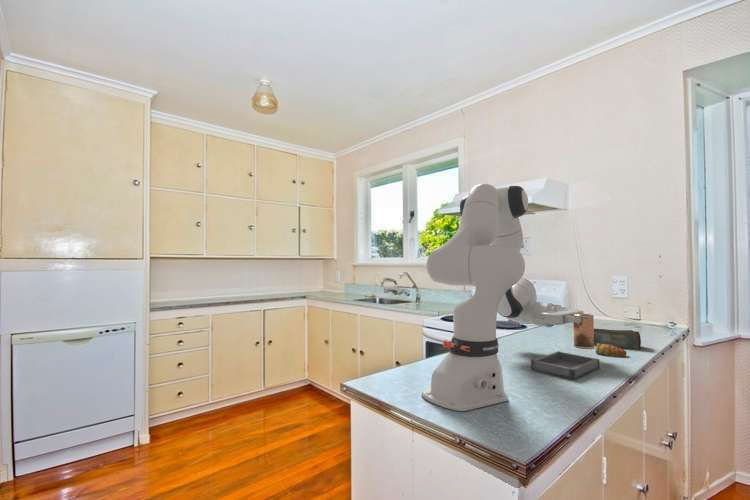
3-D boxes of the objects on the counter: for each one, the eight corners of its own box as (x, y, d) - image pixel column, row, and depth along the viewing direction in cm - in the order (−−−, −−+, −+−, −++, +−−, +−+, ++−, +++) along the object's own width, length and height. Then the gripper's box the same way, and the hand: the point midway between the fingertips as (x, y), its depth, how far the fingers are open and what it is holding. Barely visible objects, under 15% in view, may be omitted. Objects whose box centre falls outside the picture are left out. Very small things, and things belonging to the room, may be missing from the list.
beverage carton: (585, 340, 156) (585, 325, 156) (640, 346, 144) (640, 330, 145) (583, 344, 149) (583, 328, 149) (641, 350, 138) (640, 333, 138)
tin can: (589, 350, 118) (589, 316, 119) (570, 346, 123) (569, 314, 124) (597, 347, 122) (596, 315, 123) (578, 344, 127) (577, 313, 127)
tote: (573, 380, 104) (573, 369, 104) (531, 369, 114) (530, 360, 114) (599, 368, 115) (599, 359, 115) (558, 360, 125) (558, 351, 125)
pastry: (627, 355, 132) (627, 344, 132) (625, 359, 126) (625, 348, 126) (597, 351, 138) (597, 341, 138) (594, 355, 132) (594, 344, 133)
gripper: (531, 308, 127) (571, 312, 116) (559, 304, 140) (598, 307, 129) (531, 326, 127) (572, 331, 116) (559, 320, 139) (598, 325, 128)
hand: (586, 319), depth 122 cm, fingers closed on tin can, 6 cm apart
